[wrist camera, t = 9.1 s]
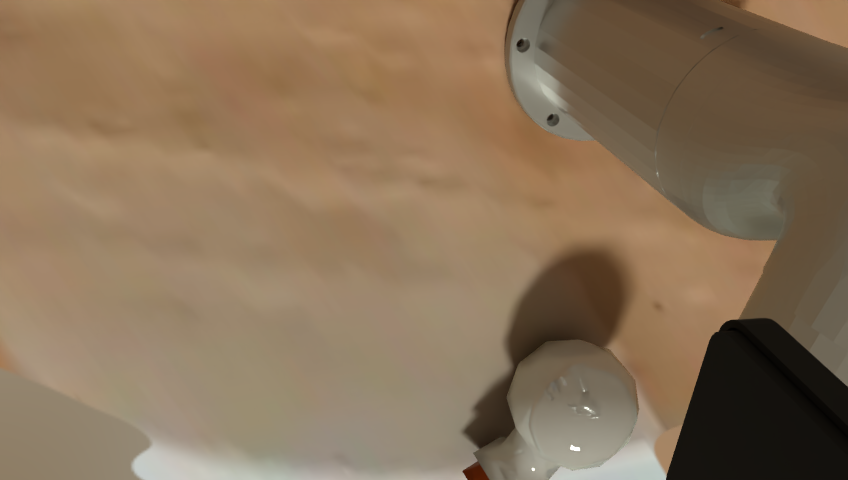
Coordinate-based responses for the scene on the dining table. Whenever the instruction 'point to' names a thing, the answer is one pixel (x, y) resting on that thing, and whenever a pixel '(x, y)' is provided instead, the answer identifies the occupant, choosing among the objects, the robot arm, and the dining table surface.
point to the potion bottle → (562, 414)
